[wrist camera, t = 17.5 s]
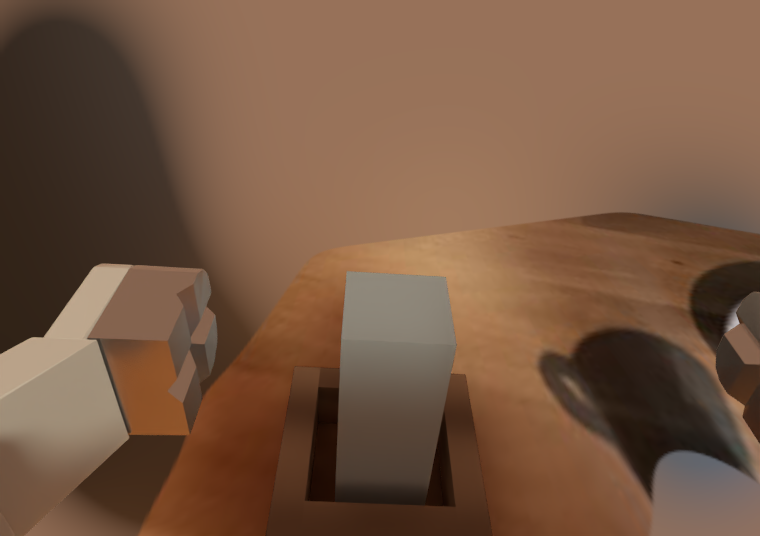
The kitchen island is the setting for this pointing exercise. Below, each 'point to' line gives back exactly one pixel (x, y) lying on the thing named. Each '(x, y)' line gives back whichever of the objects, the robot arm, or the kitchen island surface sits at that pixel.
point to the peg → (392, 386)
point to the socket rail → (366, 520)
